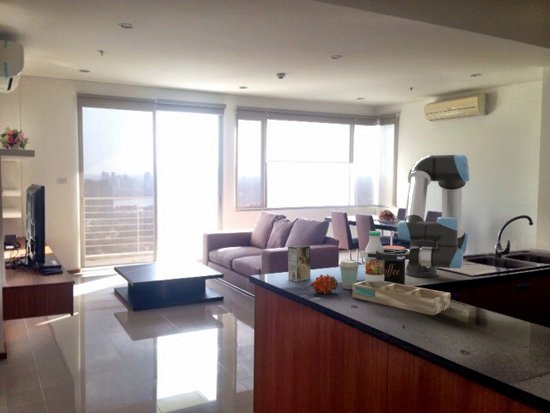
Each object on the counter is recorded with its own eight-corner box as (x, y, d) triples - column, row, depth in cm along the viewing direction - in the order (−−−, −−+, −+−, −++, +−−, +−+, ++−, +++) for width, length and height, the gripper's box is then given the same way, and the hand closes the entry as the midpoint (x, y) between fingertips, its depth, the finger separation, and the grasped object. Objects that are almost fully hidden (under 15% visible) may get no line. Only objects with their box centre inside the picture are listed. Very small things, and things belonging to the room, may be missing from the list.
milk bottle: (361, 279, 196) (361, 231, 195) (376, 277, 199) (377, 230, 198) (372, 283, 189) (372, 233, 188) (388, 281, 192) (388, 232, 191)
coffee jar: (375, 287, 210) (375, 247, 209) (387, 283, 218) (388, 244, 217) (397, 291, 203) (397, 250, 202) (409, 287, 211) (409, 247, 210)
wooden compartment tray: (370, 291, 204) (370, 278, 204) (450, 307, 179) (450, 293, 179) (351, 297, 194) (351, 284, 194) (432, 315, 169) (433, 300, 169)
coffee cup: (358, 290, 206) (358, 263, 205) (338, 289, 208) (338, 262, 207) (359, 285, 215) (359, 259, 214) (340, 284, 216) (340, 258, 215)
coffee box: (301, 276, 234) (301, 244, 232) (310, 279, 229) (310, 245, 228) (287, 279, 228) (287, 246, 226) (297, 282, 223) (296, 248, 222)
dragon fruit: (340, 296, 202) (312, 301, 201) (335, 281, 209) (308, 286, 208) (340, 283, 197) (312, 288, 196) (335, 268, 203) (308, 273, 202)
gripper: (416, 270, 177) (356, 266, 187) (423, 261, 195) (368, 257, 205) (416, 250, 176) (356, 247, 186) (424, 243, 195) (369, 240, 205)
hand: (363, 252), depth 196 cm, fingers closed on milk bottle, 7 cm apart
